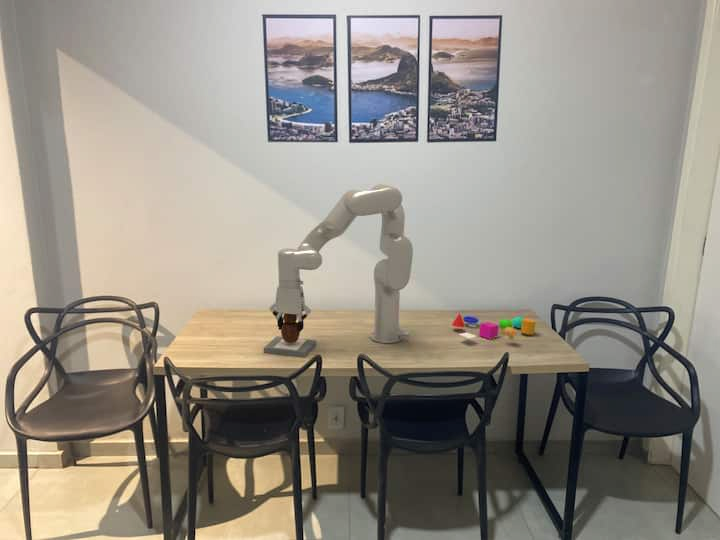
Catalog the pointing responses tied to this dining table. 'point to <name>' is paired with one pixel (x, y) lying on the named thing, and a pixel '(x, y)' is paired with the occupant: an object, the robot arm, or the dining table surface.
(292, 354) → the display base
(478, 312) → the dining table surface
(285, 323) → the wooden figurine
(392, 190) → the robot arm
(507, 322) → the shape set
